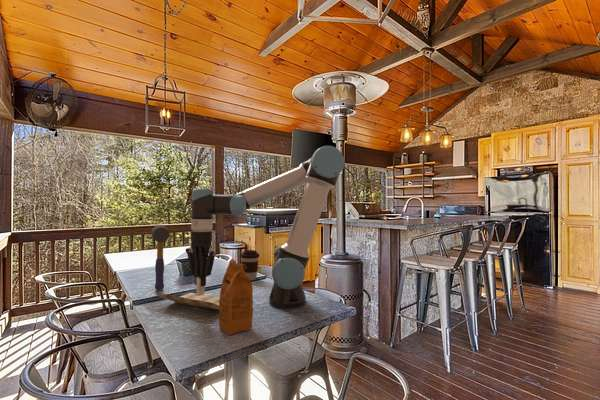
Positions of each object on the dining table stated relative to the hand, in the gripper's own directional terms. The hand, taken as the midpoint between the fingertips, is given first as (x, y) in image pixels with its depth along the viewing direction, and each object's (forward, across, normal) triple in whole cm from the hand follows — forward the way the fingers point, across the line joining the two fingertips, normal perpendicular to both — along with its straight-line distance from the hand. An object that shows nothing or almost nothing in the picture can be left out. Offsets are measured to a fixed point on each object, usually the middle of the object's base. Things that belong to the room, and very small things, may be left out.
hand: (200, 294), depth 114 cm
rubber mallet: (+8, -38, +16) cm, 42 cm away
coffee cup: (+8, -12, +52) cm, 54 cm away
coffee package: (+8, +18, -4) cm, 20 cm away
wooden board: (+7, -6, +11) cm, 15 cm away
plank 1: (+5, -13, +2) cm, 14 cm away
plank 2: (+5, 0, +2) cm, 5 cm away
